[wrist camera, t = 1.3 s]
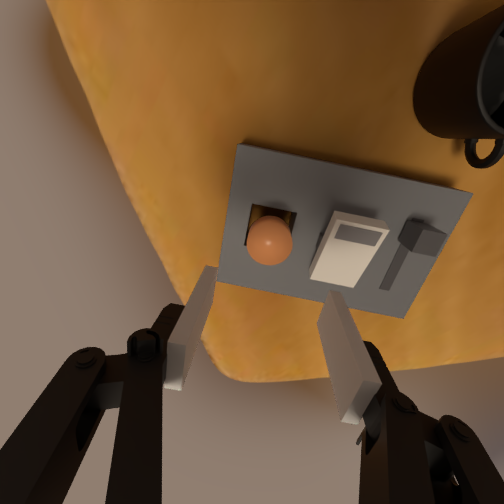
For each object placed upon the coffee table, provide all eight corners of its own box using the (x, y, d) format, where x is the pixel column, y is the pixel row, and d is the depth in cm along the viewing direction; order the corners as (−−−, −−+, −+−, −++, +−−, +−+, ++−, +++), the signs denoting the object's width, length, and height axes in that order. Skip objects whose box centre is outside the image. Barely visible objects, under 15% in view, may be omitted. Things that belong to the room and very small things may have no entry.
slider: (407, 219, 27) (423, 229, 24) (429, 224, 27) (447, 234, 24) (397, 240, 28) (411, 252, 25) (419, 245, 28) (435, 257, 25)
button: (254, 203, 29) (251, 218, 23) (293, 211, 29) (297, 228, 23) (247, 239, 30) (242, 260, 25) (283, 246, 31) (286, 269, 25)
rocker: (334, 210, 24) (337, 219, 23) (384, 220, 25) (390, 230, 23) (309, 269, 30) (309, 279, 28) (350, 277, 30) (353, 288, 28)
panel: (241, 143, 29) (236, 144, 24) (448, 186, 29) (481, 195, 24) (222, 266, 35) (214, 285, 31) (389, 300, 36) (407, 324, 31)
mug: (401, 167, 29) (455, 180, 20) (419, 33, 24) (499, -22, 15) (493, 159, 28) (588, 169, 19) (531, 17, 23) (680, -51, 14)
